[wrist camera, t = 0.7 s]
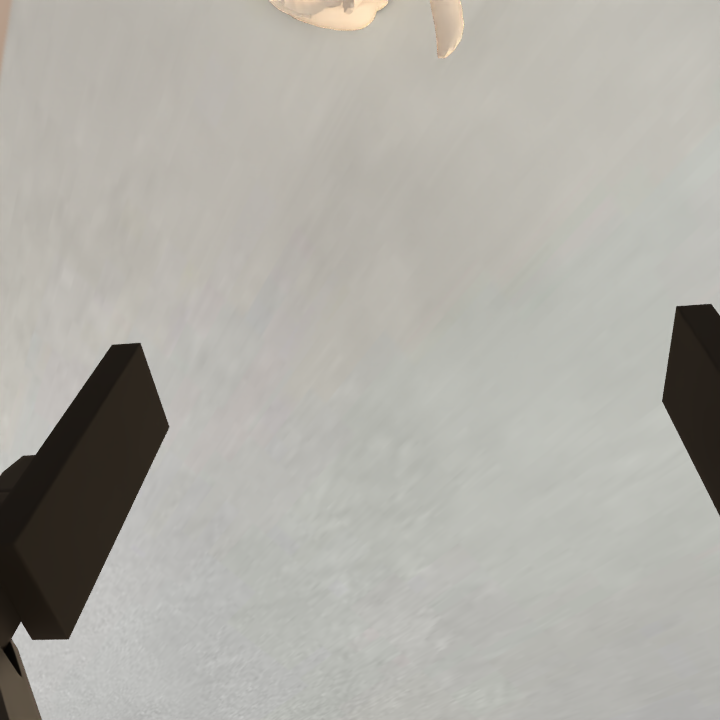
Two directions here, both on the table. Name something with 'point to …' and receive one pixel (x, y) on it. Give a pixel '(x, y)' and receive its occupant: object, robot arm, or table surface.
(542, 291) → the table surface
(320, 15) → the rabbit figurine
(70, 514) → the robot arm
